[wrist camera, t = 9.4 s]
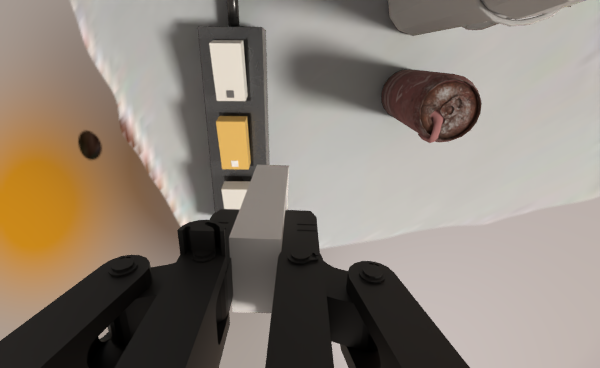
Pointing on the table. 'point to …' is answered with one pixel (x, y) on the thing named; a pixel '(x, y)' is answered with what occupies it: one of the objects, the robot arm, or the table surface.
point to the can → (432, 103)
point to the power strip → (251, 107)
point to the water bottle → (469, 13)
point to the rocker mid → (233, 142)
